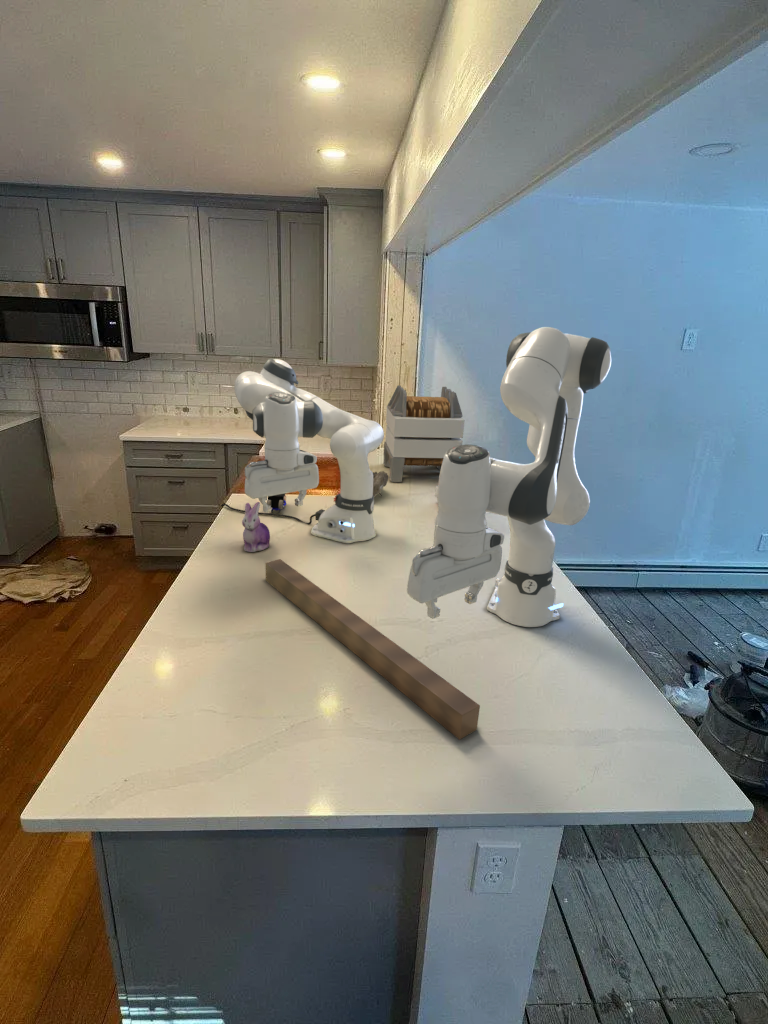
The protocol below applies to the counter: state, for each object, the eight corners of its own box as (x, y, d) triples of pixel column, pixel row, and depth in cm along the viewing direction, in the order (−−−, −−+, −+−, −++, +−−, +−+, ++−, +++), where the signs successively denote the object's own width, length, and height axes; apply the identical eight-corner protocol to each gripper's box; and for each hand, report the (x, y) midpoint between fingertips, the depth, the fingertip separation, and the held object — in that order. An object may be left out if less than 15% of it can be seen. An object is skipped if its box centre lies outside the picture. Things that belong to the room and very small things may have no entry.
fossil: (357, 477, 248) (384, 458, 243) (370, 494, 251) (397, 476, 246) (349, 498, 228) (379, 478, 223) (364, 515, 231) (393, 496, 226)
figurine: (246, 555, 177) (244, 510, 172) (238, 543, 186) (236, 499, 181) (275, 550, 181) (274, 506, 176) (266, 539, 190) (265, 496, 185)
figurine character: (284, 518, 213) (289, 501, 226) (283, 500, 209) (288, 484, 223) (266, 517, 212) (272, 500, 226) (265, 499, 209) (271, 483, 223)
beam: (265, 580, 162) (265, 562, 160) (280, 576, 165) (280, 559, 163) (459, 739, 105) (462, 715, 103) (477, 729, 108) (480, 705, 106)
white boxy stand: (382, 463, 289) (386, 382, 275) (445, 464, 293) (451, 384, 279) (390, 482, 257) (394, 392, 243) (460, 483, 261) (468, 394, 247)
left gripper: (250, 465, 137) (252, 519, 142) (322, 455, 149) (321, 505, 154) (239, 460, 142) (241, 512, 146) (309, 450, 154) (309, 499, 158)
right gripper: (426, 559, 90) (421, 634, 95) (510, 533, 102) (502, 601, 107) (401, 545, 95) (397, 618, 100) (484, 522, 107) (477, 588, 112)
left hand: (283, 508), depth 150 cm, fingers open, 8 cm apart
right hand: (452, 609), depth 103 cm, fingers open, 8 cm apart
